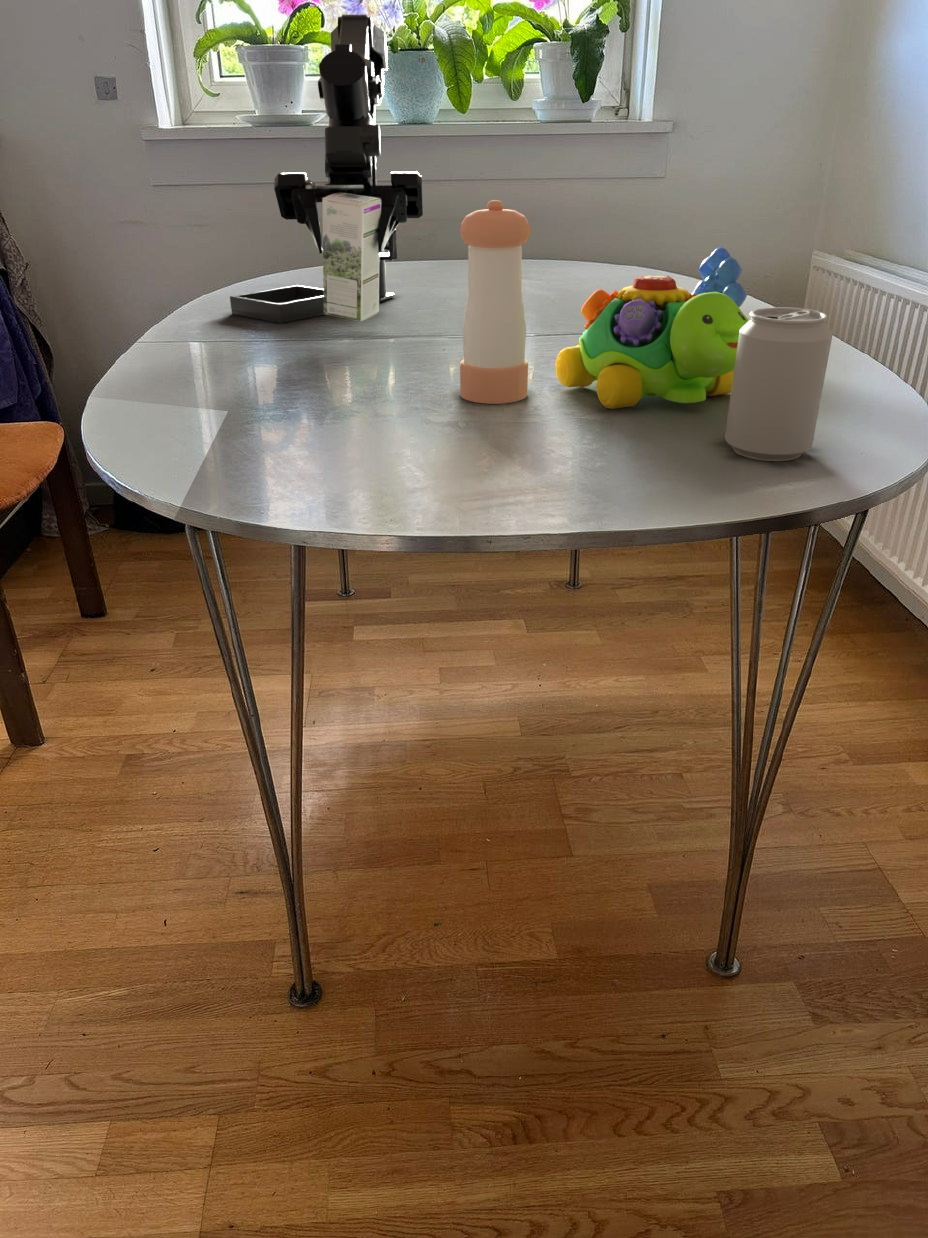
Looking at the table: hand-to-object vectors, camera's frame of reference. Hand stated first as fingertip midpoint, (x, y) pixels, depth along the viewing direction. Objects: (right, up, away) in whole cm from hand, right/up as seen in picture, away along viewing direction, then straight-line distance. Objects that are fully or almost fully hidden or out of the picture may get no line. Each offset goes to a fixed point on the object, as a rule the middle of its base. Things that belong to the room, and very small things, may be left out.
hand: (349, 250), depth 116 cm
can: (+42, -32, -34) cm, 63 cm away
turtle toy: (+35, -23, -18) cm, 46 cm away
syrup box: (-1, -6, +6) cm, 9 cm away
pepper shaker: (+18, -23, -17) cm, 34 cm away
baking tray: (-12, +1, +26) cm, 28 cm away
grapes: (+46, -12, +2) cm, 47 cm away
